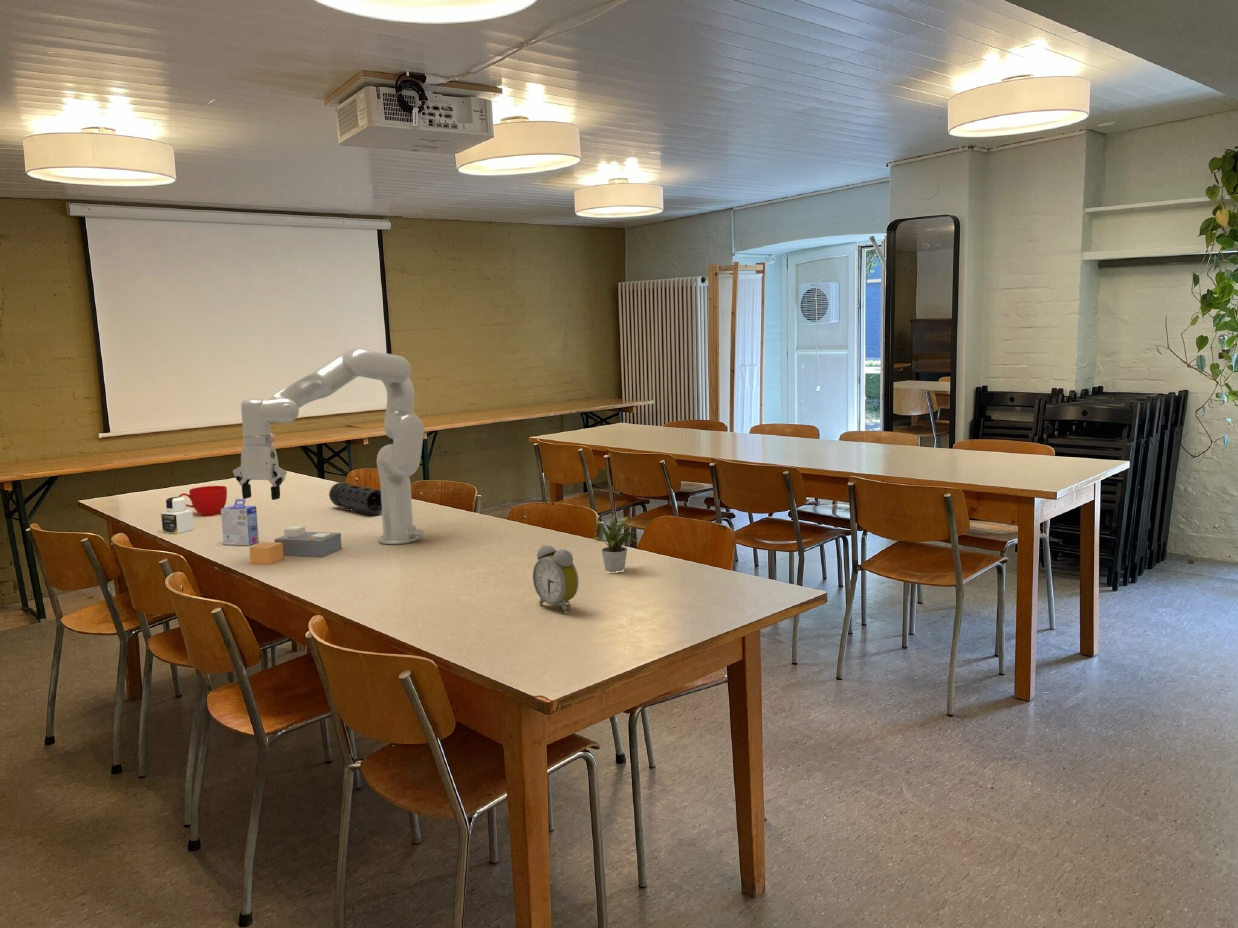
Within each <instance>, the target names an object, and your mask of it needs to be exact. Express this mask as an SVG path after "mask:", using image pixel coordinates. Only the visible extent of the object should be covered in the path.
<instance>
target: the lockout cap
mask: <svg viewBox="0 0 1238 928" xmlns="http://www.w3.org/2000/svg"><path fill="white" fill-rule="evenodd" d="M284 556H285V555H283V543H277V542H275V541H274V542H273V541H272V542H270V541H262V542H260V543H259V542H258V543H255V544H253V545H250V546H249V558H250V564H255V565H272V564H274V563H276V562H279V561H282V560H284V559H285V557H284Z"/></svg>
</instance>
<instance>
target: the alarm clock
mask: <svg viewBox="0 0 1238 928" xmlns="http://www.w3.org/2000/svg"><path fill="white" fill-rule="evenodd" d="M536 559H537V561H536V562H535V565H534V567H533V570H532V580H533V581H532V582H533V585H534V589H535V591H536V593H537V595H538V596H539V598H540V599H539V603H538V605H539V604H542V605H543V604H544V603H546V604H548V605H559V604H560V606H561V608H562V610H563V612H567V613H568V607H567V604H566V603H569V604H570V600H572V599H573V598H574V597H575V595H577V592H578V589H579V575H578V571H577V568H576V566H575V564H574V557H573V554H572V552H571V551H570V550H567V549H565V548H564V549H558V550H557V549H555V547H553V546H550V545H545V544H543V545H542V546H541V547H540V548H539V549H538V550H537V553H536Z"/></svg>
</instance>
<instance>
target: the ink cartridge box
mask: <svg viewBox="0 0 1238 928" xmlns="http://www.w3.org/2000/svg"><path fill="white" fill-rule="evenodd" d="M246 500H247V499H243V498H236V499H235V501H234V504H233V505H230V506H229V505H228V506H224V508H221V512H220V514H221V515H220V516H221V528H222V529H221V530H222V543H223V545H225V546H226V545H228V546H229V545H230V546H253V545H256V544H259V542H260V541H259V540H260V539H259V526H258V525H259V524H258V511H257V506H256V505H245V504H246ZM240 502H242V503H240Z"/></svg>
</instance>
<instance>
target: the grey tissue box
mask: <svg viewBox="0 0 1238 928" xmlns="http://www.w3.org/2000/svg"><path fill="white" fill-rule="evenodd" d="M317 533H330V534H331V536H329V537H327V538H324V539H318V538H310V536H312V535H315V534H317ZM305 534H306V535H303V536H301V537H298V538H293V537H285V534H284V535H282V536H280V537H277V538H274V542H277V543H283V555H284V556H285V555H289V556H291V557H292V556H293V557H309V558H310V557H311V558H313V557H314V558H323V557H326V556H328V555H329V554H330V555H331V554H333V553H335V552H337V551H339V550H341V549H342V534H341V532H324V531H321V532H320V531H305ZM332 552H333V553H332ZM289 556H288V557H289Z"/></svg>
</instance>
